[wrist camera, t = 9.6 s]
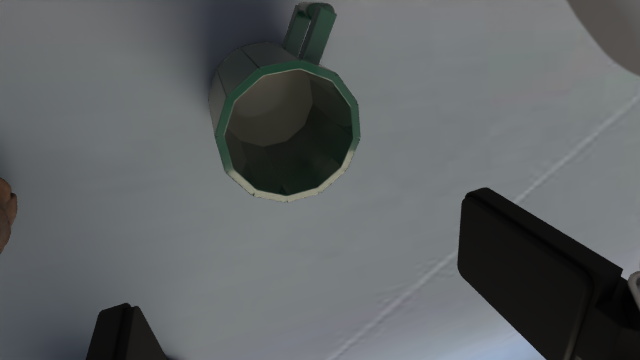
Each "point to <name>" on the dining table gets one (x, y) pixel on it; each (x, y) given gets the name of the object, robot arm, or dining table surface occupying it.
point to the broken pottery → (6, 212)
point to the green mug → (285, 112)
